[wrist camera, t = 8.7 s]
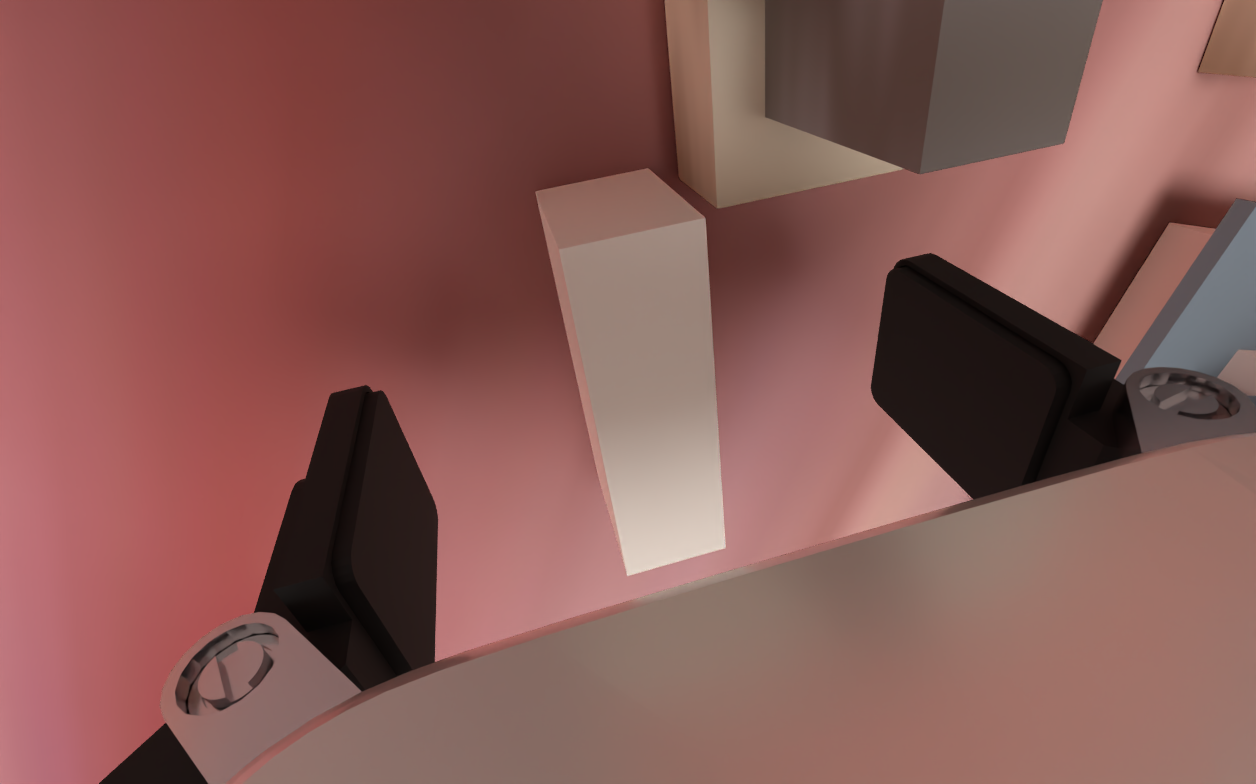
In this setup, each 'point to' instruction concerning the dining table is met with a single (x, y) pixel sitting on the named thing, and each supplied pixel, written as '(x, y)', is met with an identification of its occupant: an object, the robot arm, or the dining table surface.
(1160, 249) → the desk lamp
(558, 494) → the dining table surface
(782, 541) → the dining table surface
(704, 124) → the clamp board
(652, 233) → the beige rectangular block
